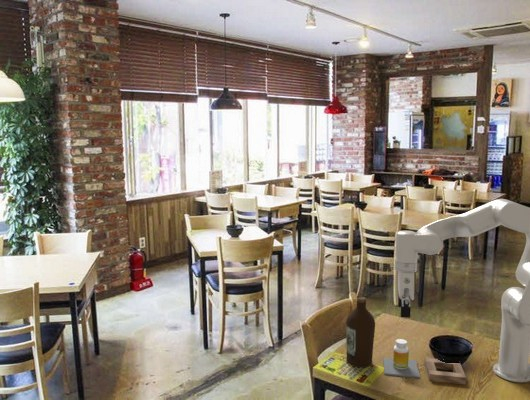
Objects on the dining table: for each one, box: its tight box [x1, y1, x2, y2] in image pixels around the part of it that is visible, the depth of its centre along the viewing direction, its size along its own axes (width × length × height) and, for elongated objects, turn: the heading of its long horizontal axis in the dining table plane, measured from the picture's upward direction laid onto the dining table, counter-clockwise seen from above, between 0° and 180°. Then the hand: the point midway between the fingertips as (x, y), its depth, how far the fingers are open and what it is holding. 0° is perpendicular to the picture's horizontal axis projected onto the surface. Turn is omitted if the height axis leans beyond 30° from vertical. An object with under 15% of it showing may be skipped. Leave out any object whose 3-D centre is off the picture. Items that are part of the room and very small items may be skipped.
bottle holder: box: [424, 357, 467, 385], centre depth 168 cm, size 12×12×2 cm
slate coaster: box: [382, 357, 421, 379], centre depth 172 cm, size 12×12×1 cm
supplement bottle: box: [392, 338, 410, 370], centre depth 171 cm, size 5×5×10 cm
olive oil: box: [345, 296, 376, 368], centre depth 175 cm, size 11×11×25 cm
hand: (404, 311), depth 169 cm, fingers open, 9 cm apart
